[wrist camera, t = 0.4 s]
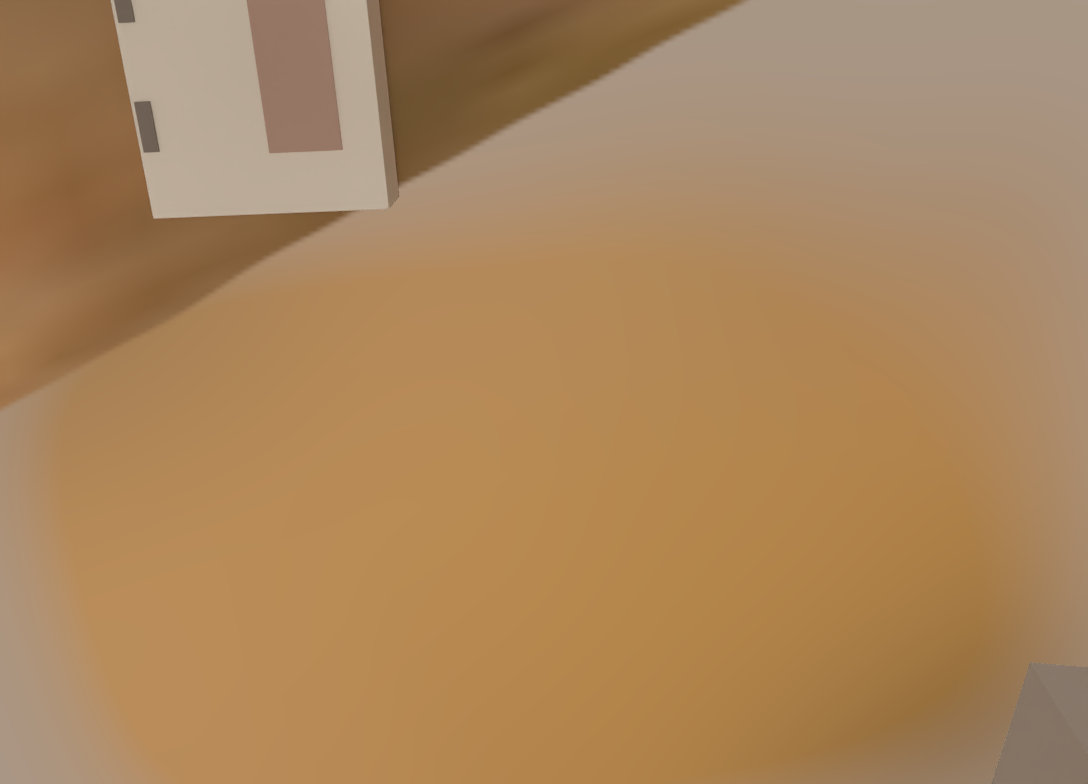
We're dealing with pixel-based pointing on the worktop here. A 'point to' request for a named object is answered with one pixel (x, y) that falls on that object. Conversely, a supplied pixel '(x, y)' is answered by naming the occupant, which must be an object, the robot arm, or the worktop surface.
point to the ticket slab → (259, 105)
